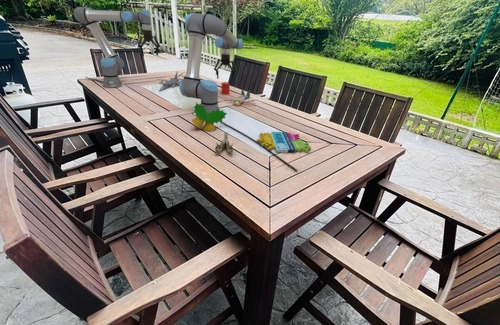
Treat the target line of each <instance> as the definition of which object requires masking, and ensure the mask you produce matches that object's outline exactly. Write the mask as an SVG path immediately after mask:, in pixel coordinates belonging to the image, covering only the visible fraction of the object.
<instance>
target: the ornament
mask: <svg viewBox="0 0 500 325" xmlns="http://www.w3.org/2000/svg"><path fill="white" fill-rule="evenodd" d="M193 112H194V113H195V118H192V119H191V122H192V123H193V125H195V127H197V128H198V129H202V130H203V131H206V132H212V131H213V132H214V131H215V130H216V126H215V124H218V123H219V122H220V121H221V122H223V119H226V115H227V114H228V113H227V112H224V110H223V109H221V110H220V111H219V109H217V110H216V111H214V110H212V112H211V113H208V112H206V109H204V106H201V103H198V102H195V105H194V106H193ZM207 113H208V115H207ZM221 122H220V123H221ZM214 123H215V124H214Z"/></svg>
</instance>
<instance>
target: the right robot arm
mask: <svg viewBox="0 0 500 325" xmlns="http://www.w3.org/2000/svg"><path fill="white" fill-rule="evenodd" d="M184 27H185V29H184V30H185V31H186V32H187V36H188V37H189V41H188V42H189V43H188V51H187V52H188V53H187V63H186V72H185V75H183V78H181V79H182V80H180V81H179V82H180V83H179V84H180V85H179V84H178V85H179V91H180V93H181V95H182V96H183V97H187V98H191V99H198V100H200V104H201V106H204V109H206V112H208V113H211V112H212V110H214V111H216V110H217V109H219V111H221V110H220V107H219V102H218V99H219V98H218V97H219V88H218V84H217V82H216V81H214V80H210V79H202V78H201V77H200V69H201V59H202V51H203V50H202V49H203V42H204V40H205V39H206V35H214V36H216V37H215V39H214V41H213V42H214V47H216V48H219V49H220V53H221V54H220V59H219V58H217V60H216V64H215V65H214V68H213V71H215V75H216V79H217V80H219V69H220V68H221V67H222V66H228V67H229V69H230V70H231V81H234V77H235V75H236V73H237V72H238V70H237V68H236V64H235V63H234V62H235V61H234V60H233V59H231V50H242V49H243V47H244V40H243V39H242V38H237V36H236V35H235V34H234V33H233V32H232V31H231V30H230V29H229V28H228V26H227V24H226V23H225V22H224V21H223V20H222V19H221V18H219V17H218V16H215V14H209V13H198V12H193V13H192V12H191V13H188V14H187V16H186V17H185V20H184ZM208 113H207V115H208ZM219 122H220V123H221V124H223V125H225V126H226V127H228V128H230V129H232V130H234V131H235V132H238V133H240V134H241V135H243V136H245V137H246V138H248V139H249V140H251V141H253V142H255V144H257V145H258V146H260V147H261V148H263V149H265V150H266V151H267V152H269V153H270V154H272V155H273V156H275V158H277V159H279V160H280V161H281V162H282V163H284V164H285V165H287V166H288V167H290V168H291V169H293V170H294V171H295V172H297V171H298V169H297V168H296V167H294V166H293V165H291V164H289V163H288V162H286V161H285V160H284V159H283V158H281V157H280V156H278V155H277V154H275V153H274V152H273V151H272V150H268V148H266V147H265V146H262V143H258V142H257V140H256V139H253V138H252V137H250V136H249V135H248V134H246V133H244V132H242V131H240V130H238V129H236V128H234V127H233V126H231V125H229V124H227V123H225V122H223V121H222V122H221V121H219Z"/></svg>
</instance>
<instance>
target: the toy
mask: <svg viewBox="0 0 500 325" xmlns="http://www.w3.org/2000/svg"><path fill="white" fill-rule="evenodd" d="M240 92H241V93H240V95H238V96H237V97H235V99H233V98H230V99H228V98H227V97H226V96H225V97H224V98H223V101H224V102H233V103H232V104H233V105H235V106H242V103H243V104H247V105H252V106H255V105H256V104H257V103H256V102H254V101H253V100H252V101H251V102H250V101H248V100H246V99H248V98H250V97H251V90H250V89H249V90H248V91H247V92H246V93H245V91H244V89H242V90H241V91H240Z"/></svg>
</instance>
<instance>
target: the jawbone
mask: <svg viewBox="0 0 500 325" xmlns="http://www.w3.org/2000/svg"><path fill="white" fill-rule="evenodd" d="M223 135H224V136H223V140H222V139H221V142H220V144H218V142H215V144H216V146H215V148H214V149H215V152H214V154H215V155H217V156H218V155H220V153H221V152H223V151H224V150H226V152H227V153H228V155H229V156H233V155H234V154H233V153H234V148H233V144H234V143H230V140H228V139H229V138H228V137H229V136H228V135H229V133H228V131H226V132H224V134H223Z"/></svg>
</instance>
